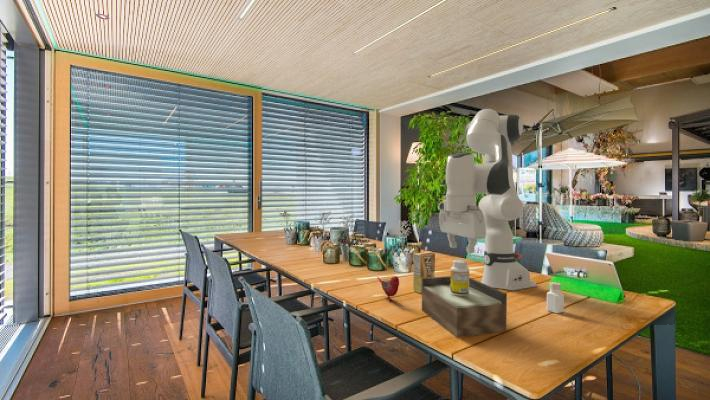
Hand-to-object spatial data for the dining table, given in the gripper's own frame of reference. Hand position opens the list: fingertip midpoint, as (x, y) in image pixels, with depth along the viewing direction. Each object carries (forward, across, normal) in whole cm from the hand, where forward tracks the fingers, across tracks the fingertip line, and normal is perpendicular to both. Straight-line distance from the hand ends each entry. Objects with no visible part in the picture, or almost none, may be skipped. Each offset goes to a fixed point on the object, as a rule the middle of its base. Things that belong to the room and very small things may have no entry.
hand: (461, 250), depth 105 cm
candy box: (+22, +33, -4) cm, 40 cm away
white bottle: (+23, 0, -35) cm, 42 cm away
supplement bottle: (+14, 0, +1) cm, 14 cm away
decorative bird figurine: (+22, +27, +15) cm, 38 cm away
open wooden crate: (+22, +1, 0) cm, 22 cm away
